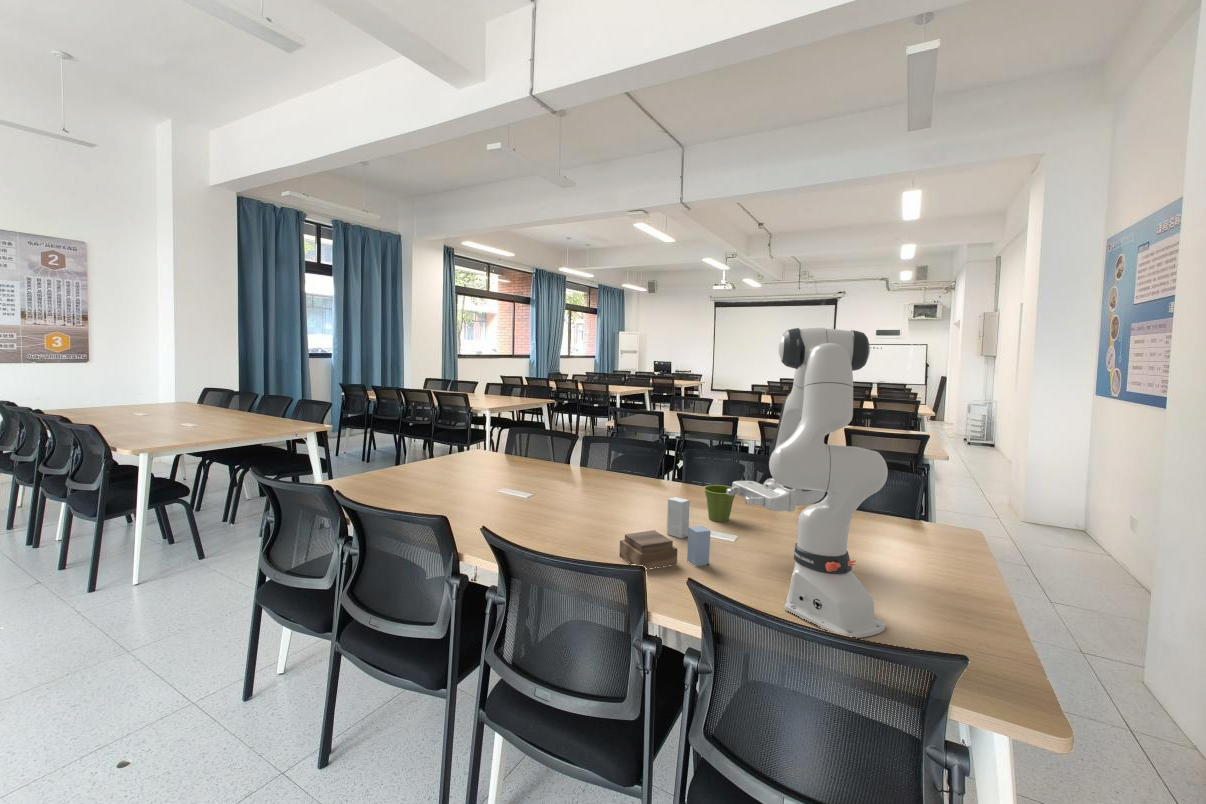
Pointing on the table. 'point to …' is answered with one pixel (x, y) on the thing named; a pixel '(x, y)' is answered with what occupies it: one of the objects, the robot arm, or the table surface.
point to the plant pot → (718, 502)
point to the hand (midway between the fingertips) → (736, 496)
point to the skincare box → (678, 517)
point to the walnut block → (648, 549)
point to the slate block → (698, 545)
